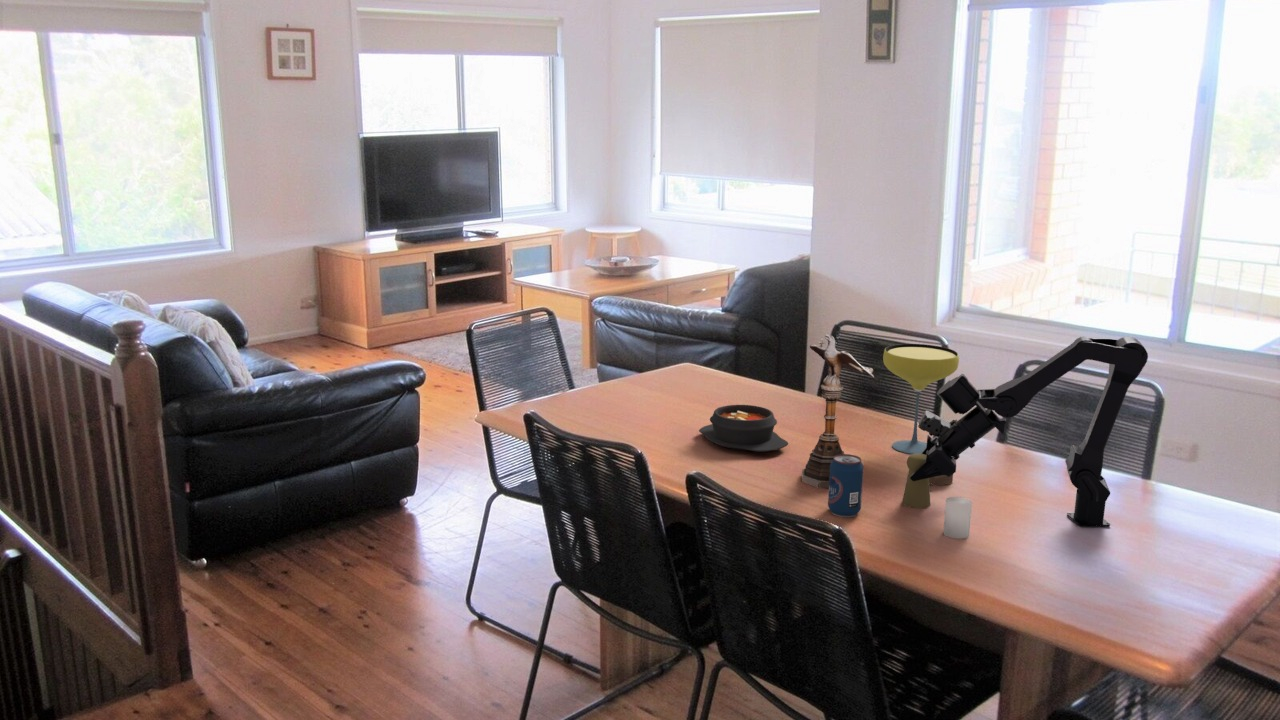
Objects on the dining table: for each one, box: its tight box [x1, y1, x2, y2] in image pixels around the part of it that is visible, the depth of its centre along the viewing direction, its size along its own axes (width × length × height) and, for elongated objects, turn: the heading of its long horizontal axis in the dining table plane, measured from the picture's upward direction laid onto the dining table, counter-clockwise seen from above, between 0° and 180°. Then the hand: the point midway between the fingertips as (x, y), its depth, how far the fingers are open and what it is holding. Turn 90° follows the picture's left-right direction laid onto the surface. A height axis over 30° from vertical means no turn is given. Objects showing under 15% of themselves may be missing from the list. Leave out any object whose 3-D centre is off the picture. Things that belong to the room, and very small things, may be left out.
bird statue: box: [801, 333, 875, 489], centre depth 241 cm, size 17×13×35 cm
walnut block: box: [929, 474, 954, 486], centre depth 243 cm, size 5×5×5 cm
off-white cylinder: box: [942, 496, 973, 540], centre depth 212 cm, size 5×5×7 cm
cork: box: [901, 453, 931, 509], centre depth 228 cm, size 6×6×11 cm
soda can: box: [827, 453, 865, 518], centre depth 222 cm, size 7×7×12 cm
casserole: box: [698, 404, 789, 453], centre depth 268 cm, size 25×19×8 cm
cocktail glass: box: [882, 343, 960, 455], centre depth 264 cm, size 18×18×25 cm
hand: (911, 473), depth 228 cm, fingers open, 7 cm apart
